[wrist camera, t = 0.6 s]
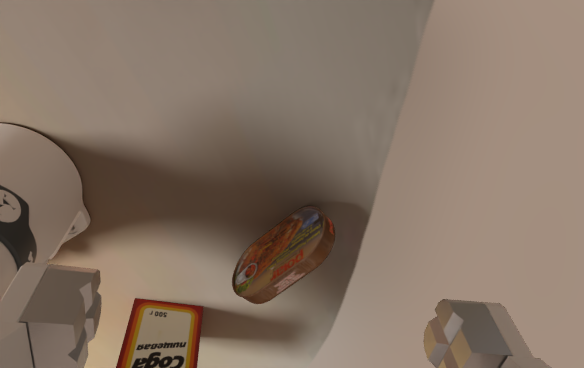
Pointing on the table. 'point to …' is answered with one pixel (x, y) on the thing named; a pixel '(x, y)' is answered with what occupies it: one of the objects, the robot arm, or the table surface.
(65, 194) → the robot arm
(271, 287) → the tin
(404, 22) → the table surface
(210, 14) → the table surface
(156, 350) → the baking soda box
